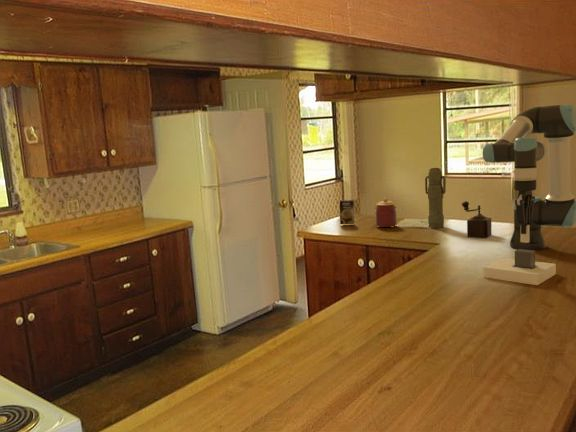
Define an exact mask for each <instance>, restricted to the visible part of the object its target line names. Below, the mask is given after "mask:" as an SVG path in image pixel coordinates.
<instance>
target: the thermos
mask: <svg viewBox="0 0 576 432" xmlns="http://www.w3.org/2000/svg"><path fill="white" fill-rule="evenodd" d="M446 179H447V178H446V176H444V175H443V173H442V170H441V168H440V167H431V168H429V170H428V174H427V176H425V179H424V180H425V181H424V185H425V186H424V187H425V188H424V189H425V194H426V195H427V198H428V199H427V200H428V218H427V223H428V228H429V227H431V228H430V229H443V228H444V227H445V226H444V224H445V217H444V210H443V209H444V206H443V205H444V204H443V201H444V200H443V199H444V194H445V193H446V185H447V181H446ZM442 227H443V228H442Z"/></svg>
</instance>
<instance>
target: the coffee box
mask: <svg viewBox="0 0 576 432" xmlns="http://www.w3.org/2000/svg"><path fill="white" fill-rule="evenodd" d="M354 223H355V200H354V199H344V200H342V199H340V200H339V225H340V224H354Z"/></svg>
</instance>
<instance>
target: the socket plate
mask: <svg viewBox="0 0 576 432" xmlns="http://www.w3.org/2000/svg"><path fill="white" fill-rule="evenodd" d="M482 274H483V278H487V279H493V280H500V281H507V282H508V281H509V282H514V283H520V284H527V285H534V286H538V285H540V284H541V283H543V282H545V281H547V280H549V279H550V278H553V276H555V275H556V274H557V264H556V263H549V262H543V261H542V262H541V261H535V268H534V269H527V268H519V267H515V258H508V257H502V258H499V259H498V260H496V261H494V262H492V263H490V264H487V265H485V266H483V273H482Z"/></svg>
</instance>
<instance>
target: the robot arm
mask: <svg viewBox="0 0 576 432" xmlns="http://www.w3.org/2000/svg"><path fill="white" fill-rule="evenodd" d="M575 133H576V107H575V106H574V105H572V104H555V105H553V104H552V105H547V106H546V105H545V106H533V107H531V108H528V109H526V110H523V111H522V112H520V113H518V114H517V115H516V116H514V118H512V120H511V121H510V124H509V127H508V128H507V129H506V130H505V131H504V132H503V133H502V134H501V135H500V136H499V138H498V139H497V140H495V142H494V143H491V142H490V143H486V144H484V146H483V147H482V159H483V161H485V162H486V163H514V168H513V169H514V170H513V171H512V172H513V174H514V175H513V176H514V177H513V178H514V179H515V180H514V181H513V185H514V186H513V189H514V191H517V199H515V200H514V204H513V205H514V208H513V227H514V228H513V233H512V235H511V239H510V241H509V247H510V248H512V249H516V250H518V249H524V250H534V251H536V250H542V249H545V248H546V241H545V238H544V235H543V231H542V226H545V227H546V226H547V227H561V228H564V227H565V228H566V227H567V228H568V227H569V228H570V227H573V226H574V225H576V200H575V198H576V197H575V195H573V194H572V192H571V139H572V138H573V137H574V136H575V135H574V134H575ZM532 134H543V138H544V139H545V140H546V141H547V148H546V146H545V144H544V143H542V142H540V141H537V138H536V137H534V136H530V135H532ZM527 136H528V137H527ZM529 136H530V137H529ZM546 154H547V156H548V157H547V161H548V162H547V163H548V165H547V166H548V167H547V169H548V194H547V195H546V196H545V197H544V198H545V199H544V200H543V198H542V197H541V196H533V191H536V190H537V180H536V179H537V176H538V175H537V173H538V172H537V171H538V170H537V169H538V167H537V162H538V161H540V160H542V159H543V158H544V157H545V156H546Z"/></svg>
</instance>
